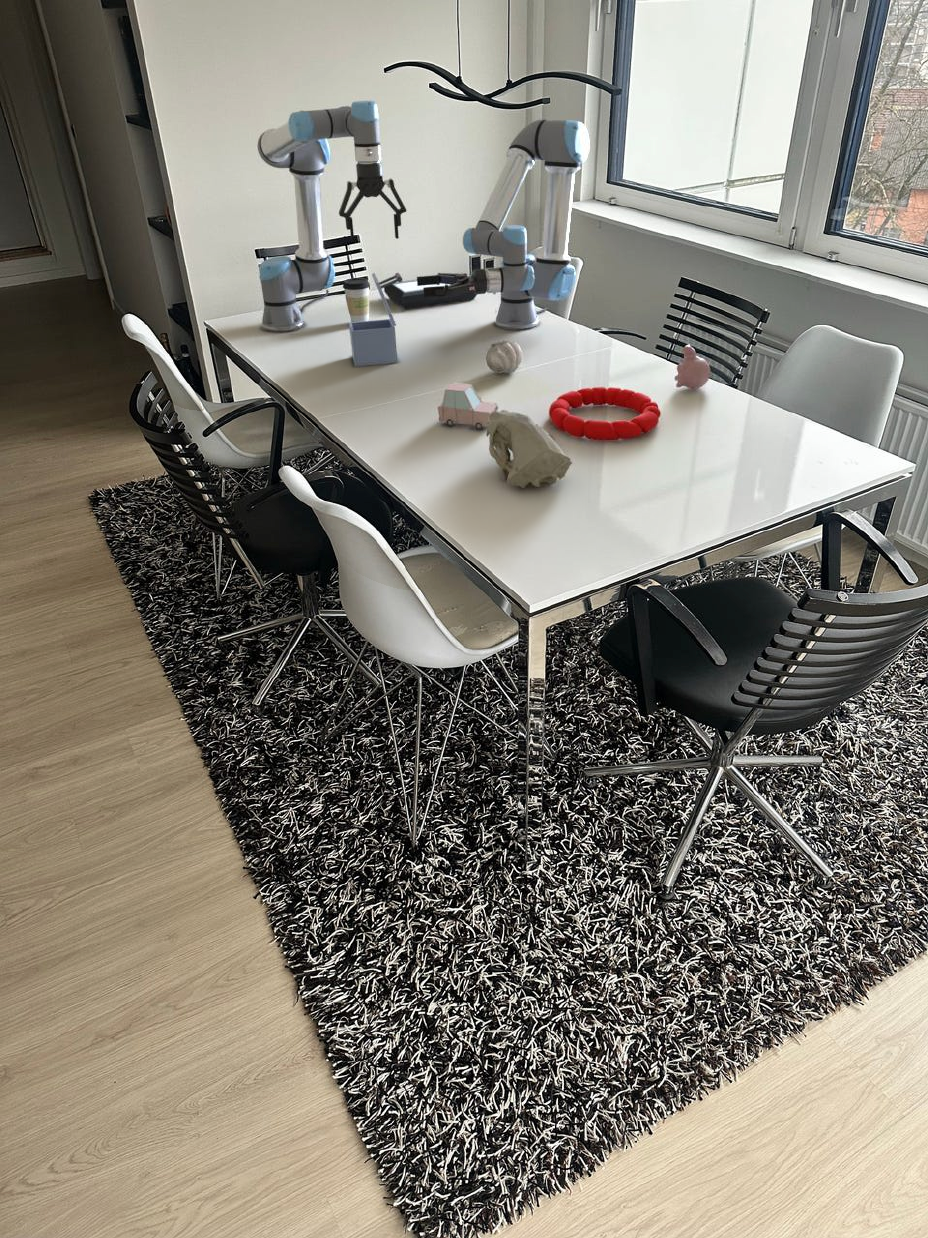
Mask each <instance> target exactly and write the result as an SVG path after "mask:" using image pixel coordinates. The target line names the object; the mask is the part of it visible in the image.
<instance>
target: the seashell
mask: <svg viewBox="0 0 928 1238" xmlns="http://www.w3.org/2000/svg"><path fill="white" fill-rule="evenodd" d="M522 360H523V351H522V350H521V347H520V345H519V344H518V343H516V342H515V341H514V340H513V341H512V340H501V339H500V340H498V341H497V342H492V343H491V344H490V345H489V348H488V349H487V350H486V354H485V362H486V365H487V367H488V368H489V369H490V370H491V371H492V372H493V373H497V374H500V373H506V374H509V373H513V372H515V371H516V370H517V369H518V368H519V366H520V364H521V363H522Z"/></svg>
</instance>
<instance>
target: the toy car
mask: <svg viewBox="0 0 928 1238" xmlns="http://www.w3.org/2000/svg"><path fill="white" fill-rule="evenodd" d="M498 409H499V404H498V403H497V402H490V401H489V402H487V401H483V397H481V396H480V395H479V394H478V393H477V391H476V390H475V389H474V386H472V384H469V383H459V382H451V383H450V384H449V385H448V386H447V387H446V388H445V389H444V394H443V399H442V403H440V404H439V405H438V406H437V413H438V421H439V422H443V423H446V425H447V426H448V427H452V426H454V425H455V424H461V425H469V426H473V427H475V429H476V430H479V431H480V430H481V429H483V428H485V427H486V428H487V423H488V422H490V414H491V413H492V412H496V411H499V410H498Z"/></svg>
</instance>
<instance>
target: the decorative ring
mask: <svg viewBox="0 0 928 1238" xmlns="http://www.w3.org/2000/svg"><path fill="white" fill-rule="evenodd" d="M583 405H584V406H586V407H587V406H591V405H593V406H604V405H608V406H614V407H619V408H624V409H628V410H632V411H635V412H636V413H638V414H639V415H637V416H635V417H632V418H631V419H630V420H625V419H624V420H623V419H622V420H614V421H611V422H609V421H607V420H606V421H605V420H593V419H587V420H586V421H585V419H584V418H582V417H579V416H577V415H573V414H571V413H570V410H571V409H579V408H581V407H582V406H583ZM548 416H549V419H550V422H551V423H552V425H553V426H554V427H555V428H556V429H558V430H559V431H561V432H563V433H567V434H568V435H569V436H573V437H576V438H580V439H582V438H583V437H585V438H586V439H587V440H591V441H601V442H602V441H603V442H608V441H609V442H610V441H611V442H612V441H615V442H616V441H618V440H630V439H634V438H638V437H641V436H642V434H647V433H650V432H651V431H653V430H654V429H655V428H656V427H657V426H658V424H659V422H660V421H659V420H660V417H661V410H660V408H659V405H658V403H657V402H656V401H652V399H651V397H649V396H648V395H646V394H644V393H642V392H635V391H634V390H632V389H628V388H624V389H622V388H620V387H613V386H612V387H611V386H610V387H608V388H606V387H604V386H594V387H585V388H584V387H583V388H580V389H578V390H571V391H568V392H565V393H563V394H561V395H560V396H558V397H557V398H556V400H554V401H552V403H551V404H550V407H549V409H548Z"/></svg>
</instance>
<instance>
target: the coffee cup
mask: <svg viewBox="0 0 928 1238" xmlns="http://www.w3.org/2000/svg"><path fill="white" fill-rule="evenodd" d="M370 287H371V283H370V282H369V279H367V278H365V277H351V278H347V279H345V280H344V281H343V285H342V288H343V290H344V297H345V301H346V305H347V310H348V314H349V318H350V322H361V321H369V317H370V316H369V313H370Z"/></svg>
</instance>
